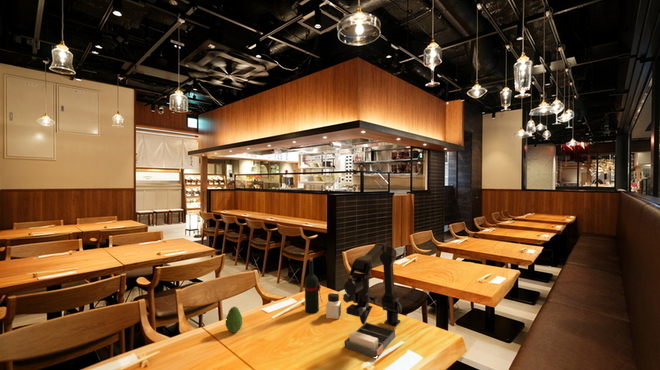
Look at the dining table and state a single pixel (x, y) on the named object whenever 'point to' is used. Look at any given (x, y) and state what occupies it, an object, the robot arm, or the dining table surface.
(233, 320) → the avocado
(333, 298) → the medicine bottle
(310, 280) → the wine bottle
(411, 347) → the dining table surface
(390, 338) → the divided tray
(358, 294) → the robot arm
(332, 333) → the dining table surface
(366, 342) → the blanking panel
